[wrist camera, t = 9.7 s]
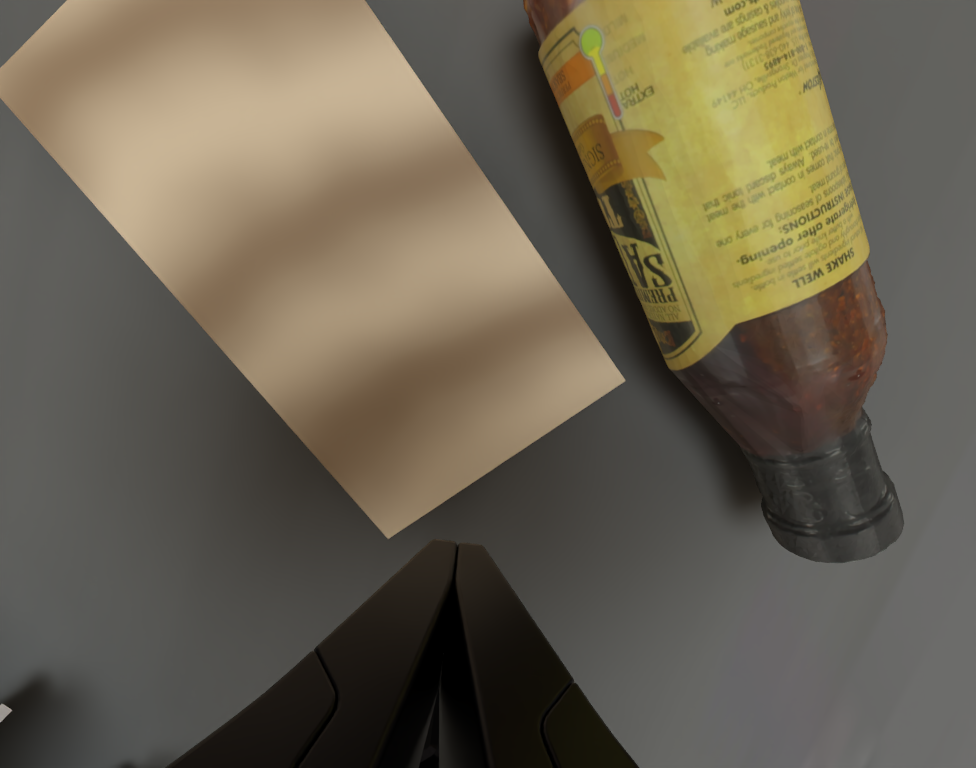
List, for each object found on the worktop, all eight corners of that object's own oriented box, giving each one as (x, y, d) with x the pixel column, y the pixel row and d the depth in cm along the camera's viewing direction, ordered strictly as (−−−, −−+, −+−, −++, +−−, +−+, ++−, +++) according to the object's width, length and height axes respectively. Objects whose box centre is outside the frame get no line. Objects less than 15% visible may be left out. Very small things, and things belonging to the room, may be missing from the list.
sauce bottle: (476, -40, 12) (748, 617, 17) (762, -267, 10) (999, 594, 14) (543, 19, 18) (734, 500, 23) (735, -114, 15) (910, 466, 20)
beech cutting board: (618, 372, 20) (625, 380, 19) (393, 523, 22) (387, 539, 21) (260, -149, 16) (242, -178, 15) (19, 91, 18) (-14, 82, 17)
